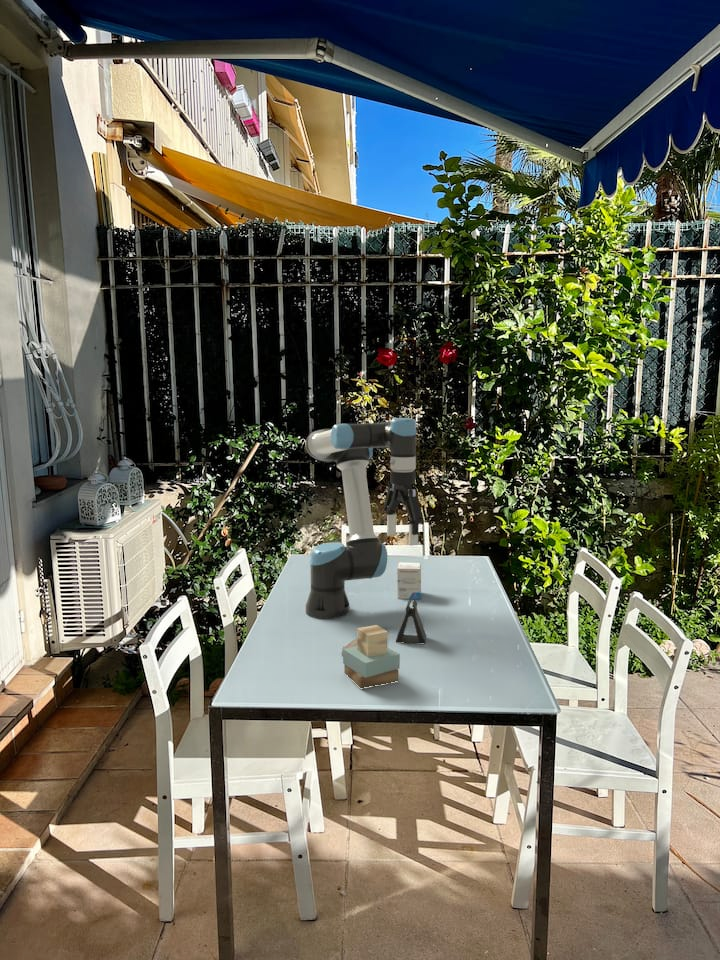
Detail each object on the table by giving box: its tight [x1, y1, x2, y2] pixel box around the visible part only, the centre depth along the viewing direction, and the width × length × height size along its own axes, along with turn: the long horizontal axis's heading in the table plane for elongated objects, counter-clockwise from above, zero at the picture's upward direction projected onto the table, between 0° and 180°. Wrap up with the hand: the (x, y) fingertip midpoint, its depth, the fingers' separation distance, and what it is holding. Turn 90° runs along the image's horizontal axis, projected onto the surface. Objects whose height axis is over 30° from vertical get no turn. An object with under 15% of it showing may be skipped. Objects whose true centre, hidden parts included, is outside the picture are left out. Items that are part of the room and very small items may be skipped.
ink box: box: [396, 562, 422, 600], centre depth 262 cm, size 9×8×12 cm
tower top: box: [342, 646, 401, 678], centre depth 192 cm, size 11×11×4 cm
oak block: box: [356, 624, 389, 657], centre depth 192 cm, size 6×6×6 cm
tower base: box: [343, 663, 399, 689], centre depth 193 cm, size 11×11×4 cm
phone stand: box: [395, 599, 427, 644], centre depth 219 cm, size 9×6×12 cm, turn 80°
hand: (402, 540), depth 215 cm, fingers open, 13 cm apart
